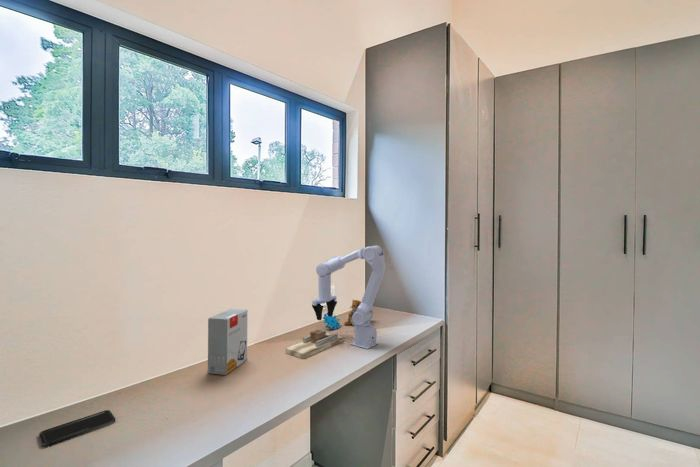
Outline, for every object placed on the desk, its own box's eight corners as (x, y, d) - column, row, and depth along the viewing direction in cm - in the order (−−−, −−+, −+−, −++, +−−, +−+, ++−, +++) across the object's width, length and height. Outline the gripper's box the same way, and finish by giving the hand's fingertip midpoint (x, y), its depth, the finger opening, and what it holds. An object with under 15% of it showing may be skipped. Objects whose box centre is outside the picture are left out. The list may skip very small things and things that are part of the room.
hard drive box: (226, 376, 123) (226, 319, 122) (207, 374, 124) (206, 318, 124) (248, 359, 138) (247, 308, 137) (230, 357, 140) (230, 307, 139)
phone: (38, 432, 89) (108, 409, 99) (38, 436, 89) (108, 412, 100) (42, 445, 83) (116, 419, 94) (42, 450, 83) (116, 424, 94)
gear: (329, 329, 172) (321, 311, 177) (322, 335, 174) (315, 318, 180) (345, 327, 179) (337, 311, 185) (338, 333, 182) (330, 317, 188)
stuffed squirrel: (342, 325, 183) (342, 300, 182) (355, 319, 195) (356, 295, 194) (359, 328, 178) (359, 303, 177) (372, 322, 190) (372, 297, 189)
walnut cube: (324, 341, 153) (324, 331, 153) (317, 344, 149) (317, 333, 149) (317, 339, 156) (317, 329, 155) (310, 341, 152) (310, 331, 152)
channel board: (343, 341, 159) (343, 332, 158) (302, 358, 138) (302, 348, 138) (326, 337, 165) (326, 328, 165) (285, 353, 144) (285, 343, 144)
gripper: (328, 285, 170) (328, 313, 171) (307, 290, 159) (307, 320, 159) (339, 287, 166) (339, 315, 166) (318, 292, 155) (318, 322, 155)
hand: (324, 318), depth 163 cm, fingers open, 7 cm apart
